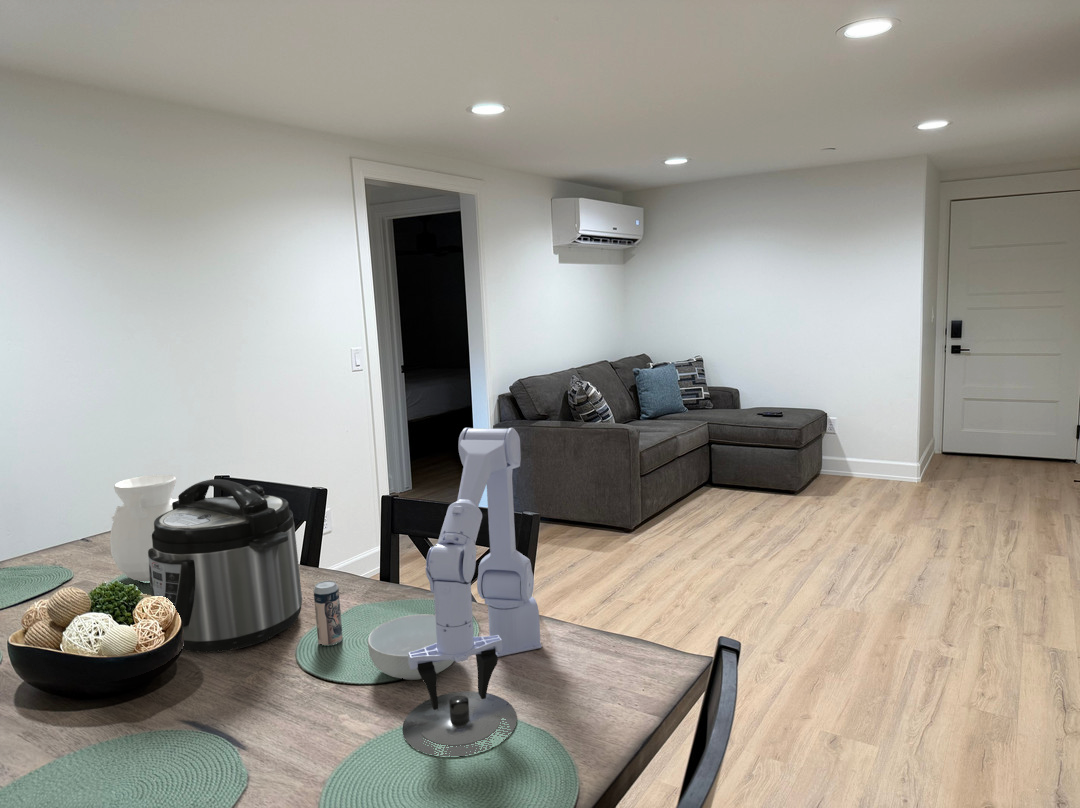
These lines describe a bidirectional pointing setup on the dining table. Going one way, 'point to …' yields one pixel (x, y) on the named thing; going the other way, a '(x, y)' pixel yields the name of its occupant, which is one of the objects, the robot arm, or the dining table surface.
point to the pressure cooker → (227, 565)
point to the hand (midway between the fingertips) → (458, 701)
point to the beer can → (328, 613)
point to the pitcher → (138, 521)
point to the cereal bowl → (403, 644)
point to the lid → (458, 722)
